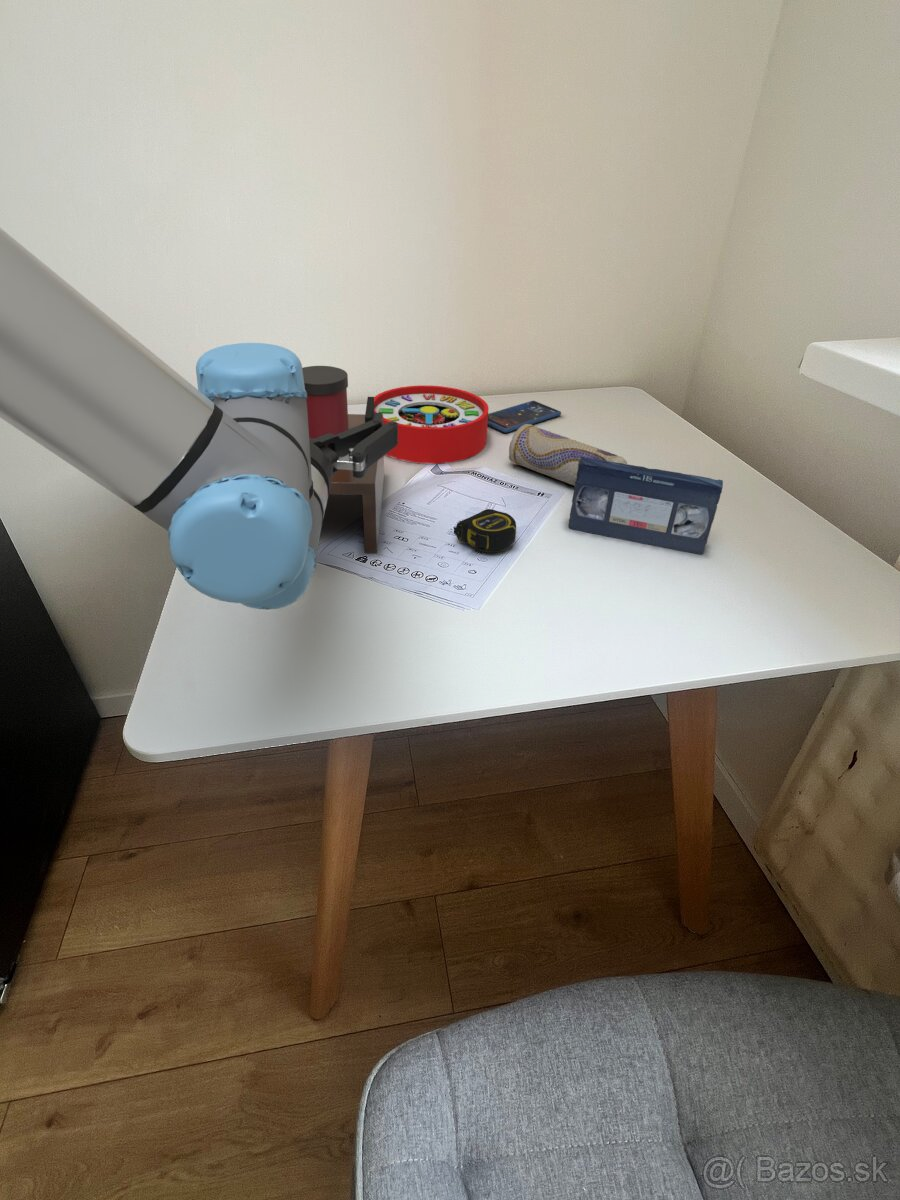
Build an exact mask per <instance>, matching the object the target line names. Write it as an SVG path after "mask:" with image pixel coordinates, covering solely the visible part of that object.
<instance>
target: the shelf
mask: <svg viewBox="0 0 900 1200" xmlns="http://www.w3.org/2000/svg"><path fill="white" fill-rule="evenodd" d="M363 423H365V413H364V414H361V413H360V414H357V413H348V427H349V429H351V428H353V427H356V426H358V425H361V424H363ZM384 481H385V455H384V456H383V457H382V458H380V459H379V460H378V461H376V462H375V463H374V464H373V465H371V466H370V467H369V468H367V470H366V473H365V476H364V477H362V478H355V477H353V472H351V471H350V470H340V469H339V470H338V472H337V473H335V474H334V475H333V476H332V481H331V486H330V490H329V495H343V496H345V495H346V496H347V495H349V496H350V495H351V496H352V495H353V496H362V519H363V520H362V521H363V544H364V545H363V546H364V553H365V554H378V548H379V538H380V537H379V536H380V525H381V514H382V504H383V493H384V484H385V483H384Z"/></svg>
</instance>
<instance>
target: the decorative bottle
mask: <svg viewBox="0 0 900 1200" xmlns="http://www.w3.org/2000/svg"><path fill="white" fill-rule="evenodd" d="M511 437H512V438H511V440H510V443H509V447H508V460H510V462H512V464H514V465H516V466H517V465H518V466H520V467H524V468H526V469H529V470H532V471H534V472H536V473H539V474H542V475H545V476H548V477H550V478H553V479H556V481H557V480H558V481H560V482H563V483H566V484H568V485H571V486H574V487H575V482H576V479H577V471H578V464H579V461H580V460H581V457H584V458H591V459H596V460H603V461H610V462H616V463H623V464H628V461H627V460H626V459H625V458H624V457H623V456H619V455H617V454H615V453H612V452H610V451H607V450H603V449H601V448H599V447H595V446H593V445H590V444H587V443H584V442H581V441H577V440H576V439H572V438H569V437H566V436H563V435H561V434H557V433H555V432H552V431H550V430H546V429H543V428H540V427H537V426H535V425H534V424H524V425H523V426H521V427H520V428H519V429H516V430H515V432H514V433H513V435H512V436H511ZM638 475H639V474H638Z"/></svg>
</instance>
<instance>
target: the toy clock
mask: <svg viewBox="0 0 900 1200" xmlns="http://www.w3.org/2000/svg"><path fill="white" fill-rule="evenodd" d="M373 397H374V413H382V414H383V424H386V423H388V422H397V423H398V445H397V446H396V447H394V448H393V449H392V450H391V451H389V452H388V453H387V454H385V455H384V456H386V457H389V458H392V459H394V460H398V461H402V462H406V463H415V464H423V465H424V464H427V465H439V464H441V465H442V464H450V463H456V462H461V461H465V460H468V459H470V458H473V457H475V456H477V455H478V454H480V453H481V452H482V451H483V450H484V449H485V447H486V446H487V439H488V438H487V437H488V425H487V424H488V414H489V405H488V403H487V402H486V401H485V400H484V399H483V398H482V397H481V396H478V395H476V394H474V393H473V392H470V391H467V390H463V389H459V388H455V387H449V386H441V385H430V384H429V385H408V386H399V387H396V388H391V389H388V390H385V391H382V392H380V393H377V394H376V395H375V396H373Z"/></svg>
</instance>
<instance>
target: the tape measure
mask: <svg viewBox="0 0 900 1200" xmlns="http://www.w3.org/2000/svg"><path fill="white" fill-rule="evenodd" d="M453 534H454V535H455V536H456V538H457V540H458V541H459V542H462V543H464V544H466V543H467V544H468V545H469V546H470V547H472V548H473V549H475V550H477V551H481V552H484V553H497V552H502V551H505V550H507V549H509V548H510V547H511V546H512V545H513V544H514V543H515V542H516V537H517V536H516V535H517V522H516V520H515V518H514V517H513V516H512V515H510V514H509V513H507V512H504V511H499V510H496V509H491V508H486V509H484V510H482V511H480V512H478V513H476V514H474V515H472V516H470V517H467V518H464V519H462V520H459V522H457V523H456V525H455V526H453Z"/></svg>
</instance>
